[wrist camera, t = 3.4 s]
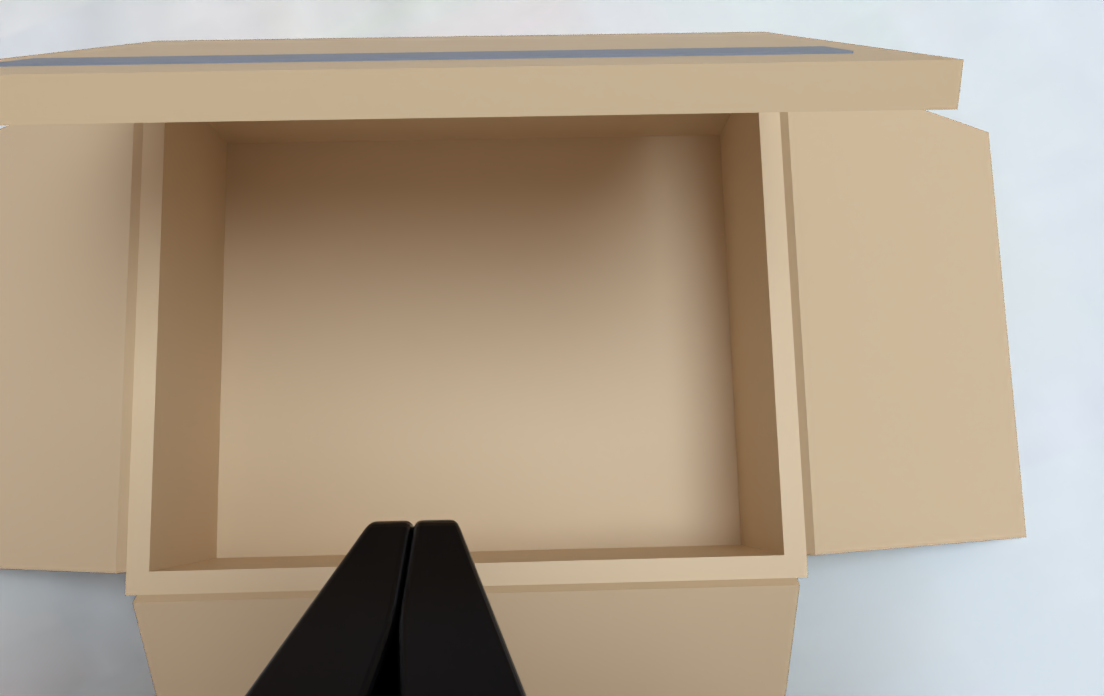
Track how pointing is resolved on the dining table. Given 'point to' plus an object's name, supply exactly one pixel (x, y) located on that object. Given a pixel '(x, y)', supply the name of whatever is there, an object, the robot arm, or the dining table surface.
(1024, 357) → the dining table surface
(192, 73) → the far flap
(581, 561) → the carton
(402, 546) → the robot arm
